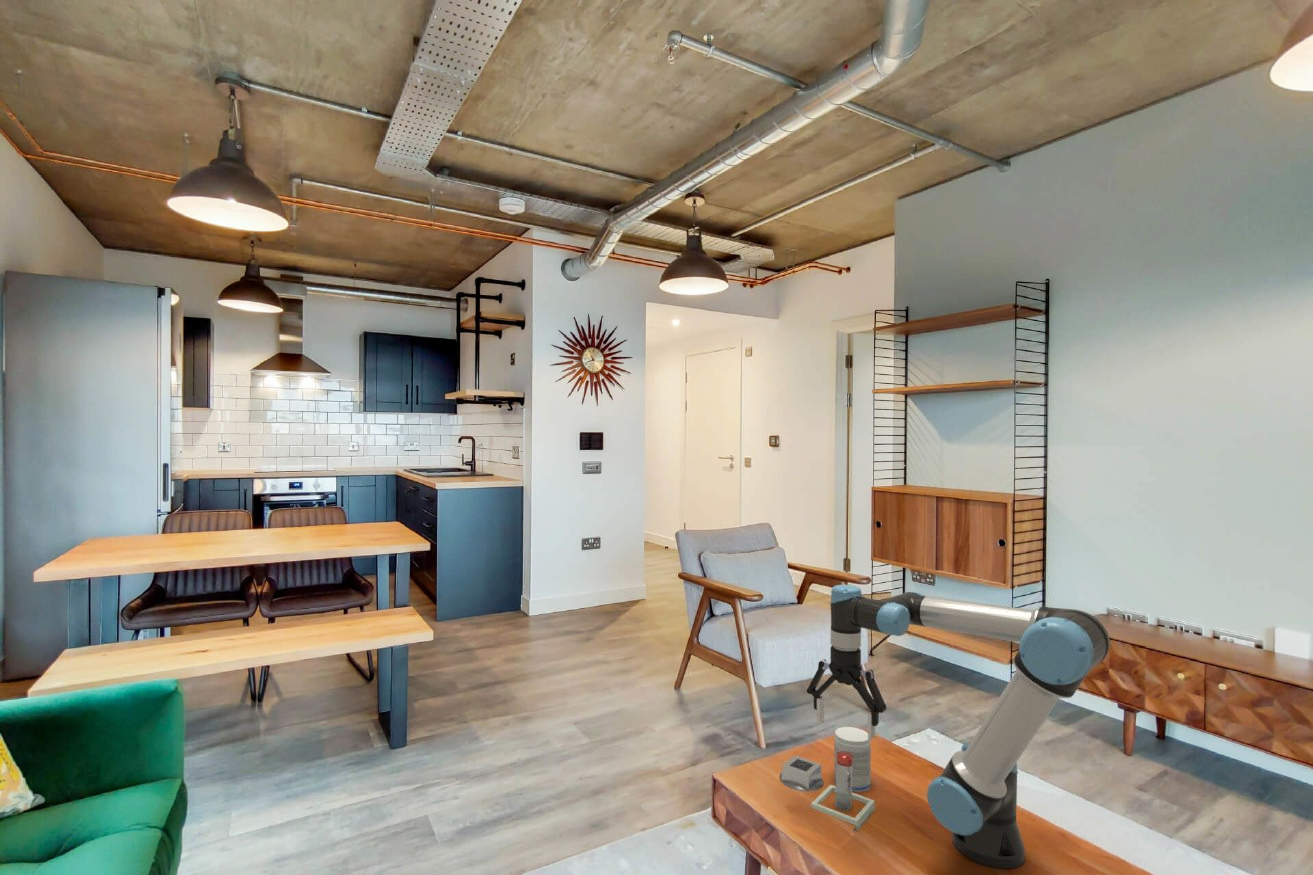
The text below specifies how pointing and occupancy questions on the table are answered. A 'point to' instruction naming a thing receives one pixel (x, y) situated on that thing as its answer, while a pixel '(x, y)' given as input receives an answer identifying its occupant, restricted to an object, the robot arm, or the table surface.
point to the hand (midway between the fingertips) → (845, 730)
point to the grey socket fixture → (801, 774)
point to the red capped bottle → (844, 780)
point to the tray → (857, 821)
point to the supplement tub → (855, 755)
